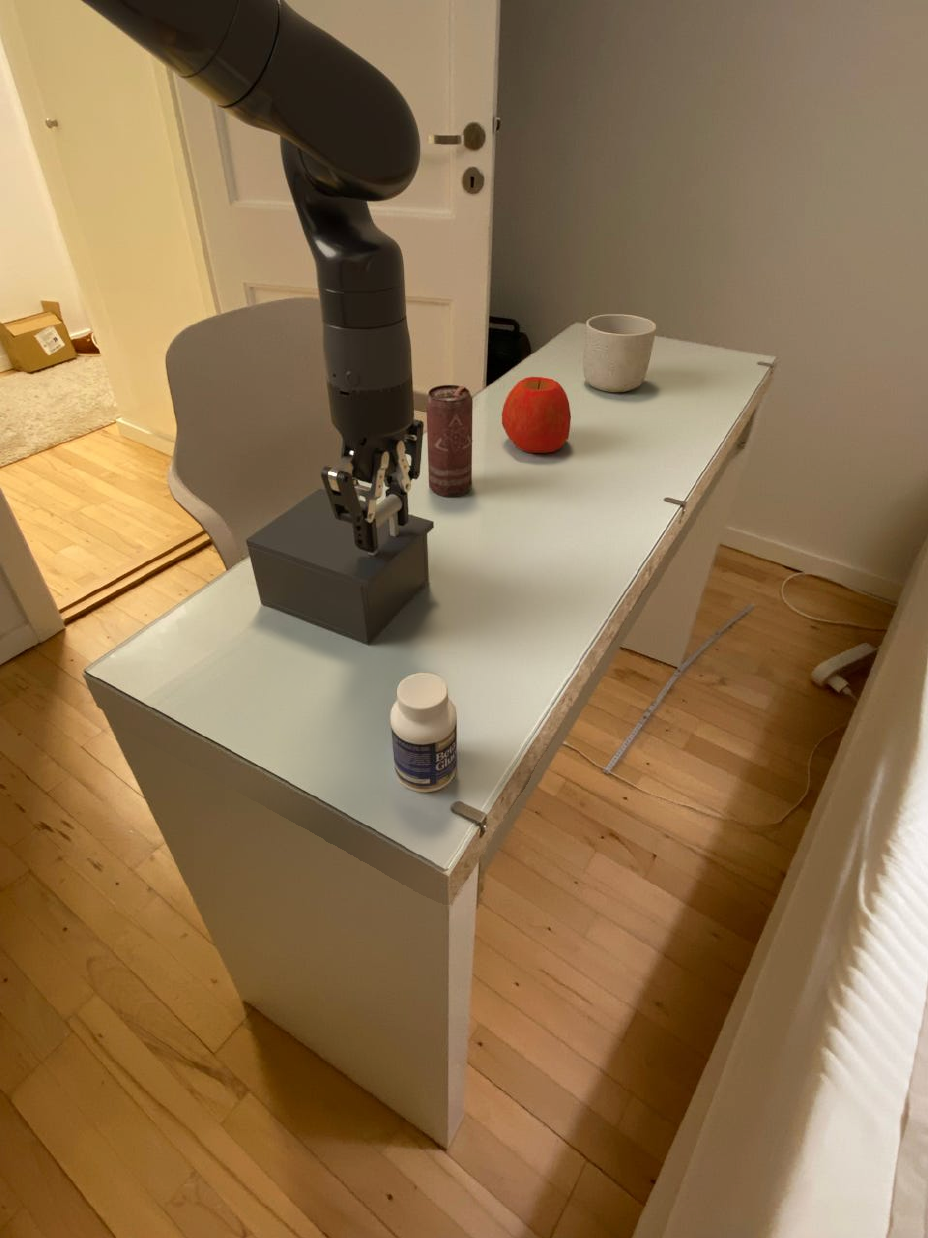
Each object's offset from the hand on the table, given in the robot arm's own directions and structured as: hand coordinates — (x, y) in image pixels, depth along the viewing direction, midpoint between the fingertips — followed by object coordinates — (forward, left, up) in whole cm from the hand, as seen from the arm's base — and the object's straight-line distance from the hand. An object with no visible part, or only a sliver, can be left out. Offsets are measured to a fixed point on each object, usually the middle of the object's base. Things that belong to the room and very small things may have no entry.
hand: (383, 535), depth 70 cm
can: (+15, +24, -10) cm, 30 cm away
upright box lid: (-4, +4, -2) cm, 6 cm away
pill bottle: (-2, -23, -10) cm, 25 cm away
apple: (+32, +33, -10) cm, 47 cm away
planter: (+56, +52, -10) cm, 77 cm away
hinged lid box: (-4, +4, -10) cm, 11 cm away
